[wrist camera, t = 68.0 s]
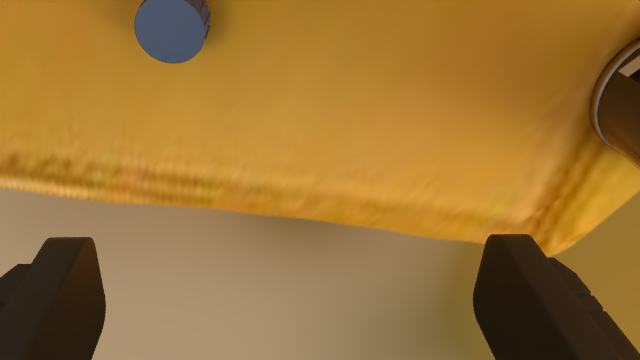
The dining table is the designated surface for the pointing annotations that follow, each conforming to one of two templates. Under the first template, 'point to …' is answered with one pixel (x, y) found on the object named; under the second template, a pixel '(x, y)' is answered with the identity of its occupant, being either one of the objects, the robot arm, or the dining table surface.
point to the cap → (172, 28)
